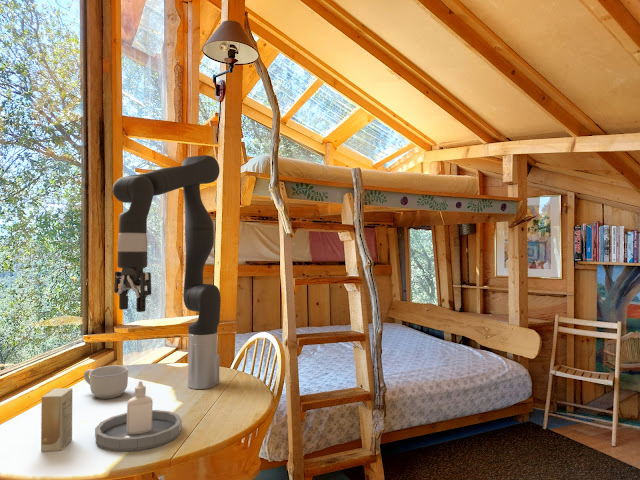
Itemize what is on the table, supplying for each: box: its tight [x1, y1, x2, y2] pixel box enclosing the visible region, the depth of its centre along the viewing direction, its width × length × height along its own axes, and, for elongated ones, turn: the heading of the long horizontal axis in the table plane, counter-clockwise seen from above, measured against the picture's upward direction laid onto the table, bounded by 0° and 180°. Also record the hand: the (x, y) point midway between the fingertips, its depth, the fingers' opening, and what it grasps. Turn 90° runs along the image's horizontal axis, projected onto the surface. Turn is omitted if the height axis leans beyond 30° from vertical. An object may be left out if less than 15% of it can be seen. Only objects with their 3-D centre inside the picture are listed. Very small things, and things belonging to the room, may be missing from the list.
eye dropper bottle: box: [126, 380, 153, 435], centre depth 114 cm, size 4×6×12 cm
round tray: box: [94, 409, 183, 453], centre depth 114 cm, size 19×19×3 cm
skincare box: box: [40, 387, 73, 452], centre depth 108 cm, size 6×4×12 cm
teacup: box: [83, 364, 129, 400], centre depth 145 cm, size 14×11×8 cm
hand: (132, 310), depth 128 cm, fingers open, 8 cm apart
